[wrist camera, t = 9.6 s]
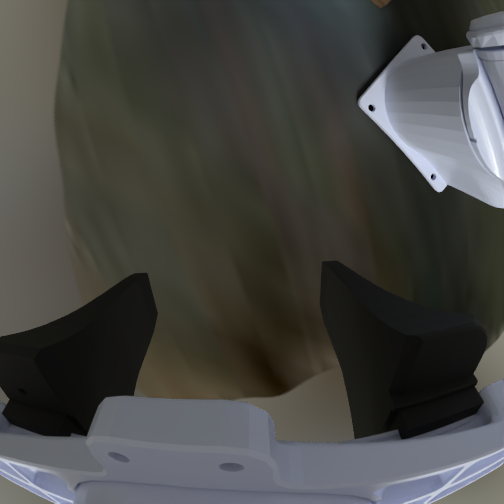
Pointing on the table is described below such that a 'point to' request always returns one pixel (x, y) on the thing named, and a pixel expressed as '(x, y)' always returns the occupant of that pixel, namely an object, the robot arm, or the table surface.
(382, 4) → the brown peg board
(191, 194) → the table surface
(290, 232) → the table surface
